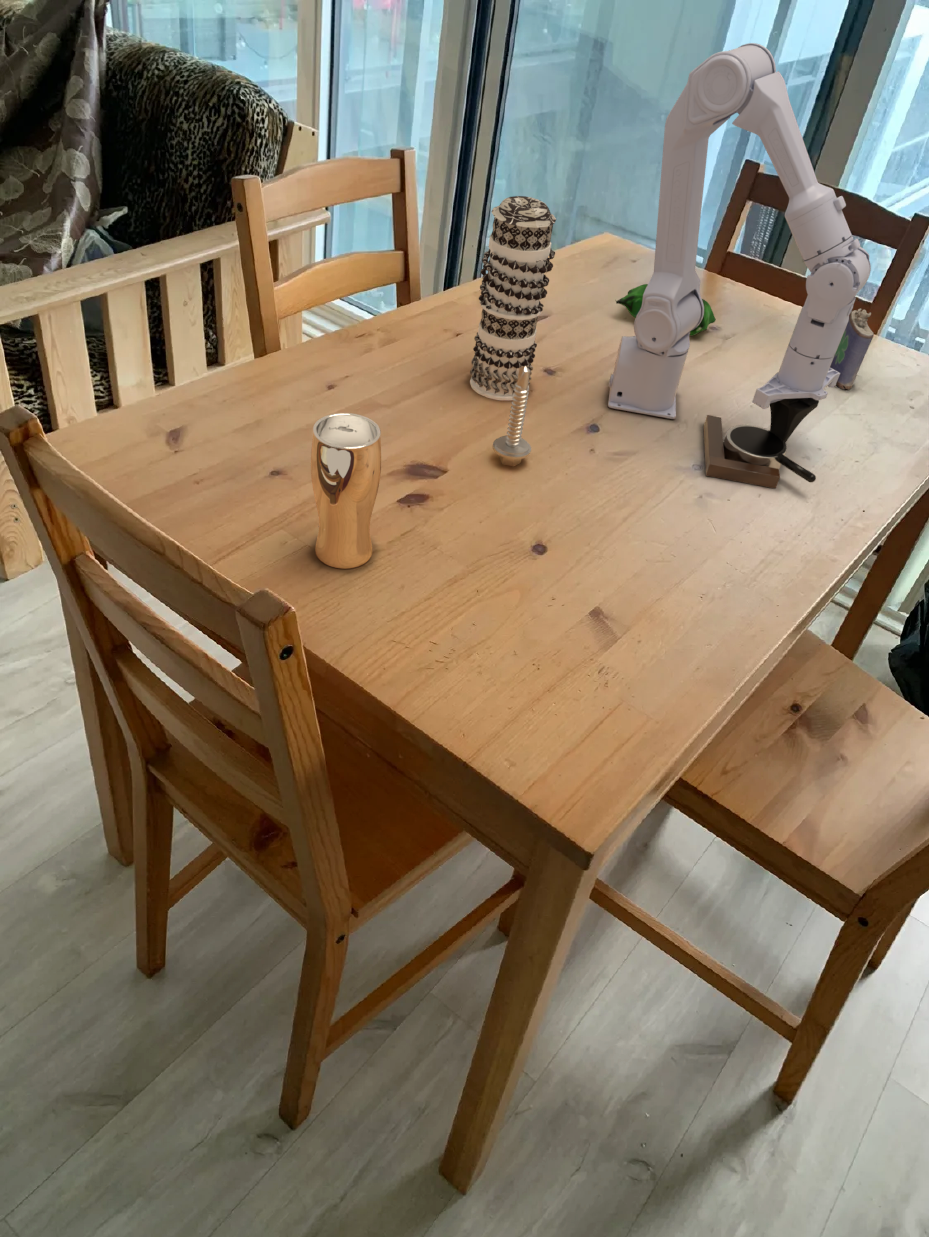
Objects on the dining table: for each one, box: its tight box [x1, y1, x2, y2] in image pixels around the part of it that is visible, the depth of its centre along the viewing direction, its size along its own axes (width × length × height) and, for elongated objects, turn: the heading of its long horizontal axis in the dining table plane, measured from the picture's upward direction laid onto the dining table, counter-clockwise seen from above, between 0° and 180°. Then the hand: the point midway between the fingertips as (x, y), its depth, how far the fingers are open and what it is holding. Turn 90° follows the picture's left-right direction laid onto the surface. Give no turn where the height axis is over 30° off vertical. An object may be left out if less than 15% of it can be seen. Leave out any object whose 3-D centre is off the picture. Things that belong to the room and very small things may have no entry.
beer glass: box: [310, 412, 382, 570], centre depth 95 cm, size 7×7×15 cm
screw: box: [492, 366, 532, 467], centre depth 113 cm, size 13×5×5 cm
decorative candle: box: [469, 195, 557, 401], centre depth 123 cm, size 9×9×25 cm
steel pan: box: [723, 424, 817, 483], centre depth 121 cm, size 14×8×3 cm, turn 35°
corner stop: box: [703, 414, 781, 489], centre depth 123 cm, size 9×13×2 cm
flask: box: [830, 308, 875, 390], centre depth 142 cm, size 9×3×11 cm, turn 172°
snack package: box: [615, 283, 717, 337], centre depth 151 cm, size 7×16×5 cm, turn 64°
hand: (775, 442), depth 125 cm, fingers closed, pressing on steel pan
